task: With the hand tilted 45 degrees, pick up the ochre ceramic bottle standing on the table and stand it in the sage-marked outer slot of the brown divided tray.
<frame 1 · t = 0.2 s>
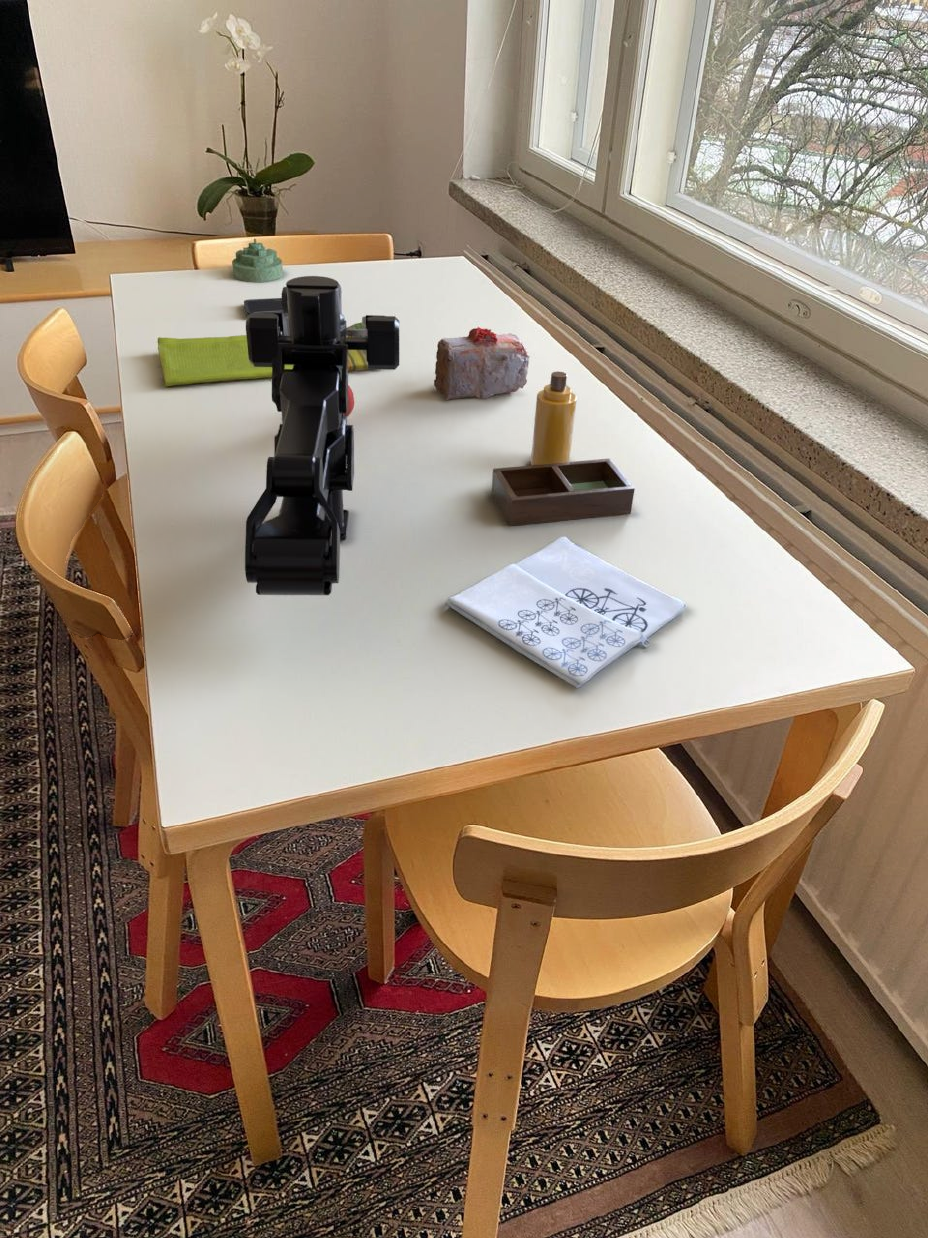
hand: (329, 319, 122), 17 cm above the table, tool horizontal, fingers open, 9 cm apart
decorative artifact: (258, 275, 191), on the table
dish towel: (274, 362, 153), on the table
brown divided tray: (560, 503, 119), on the table
bottle: (549, 464, 127), on the table
folded bicycle print cloth: (570, 612, 100), on the table
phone: (286, 311, 174), on the table
red crystal topped stone: (479, 392, 147), on the table
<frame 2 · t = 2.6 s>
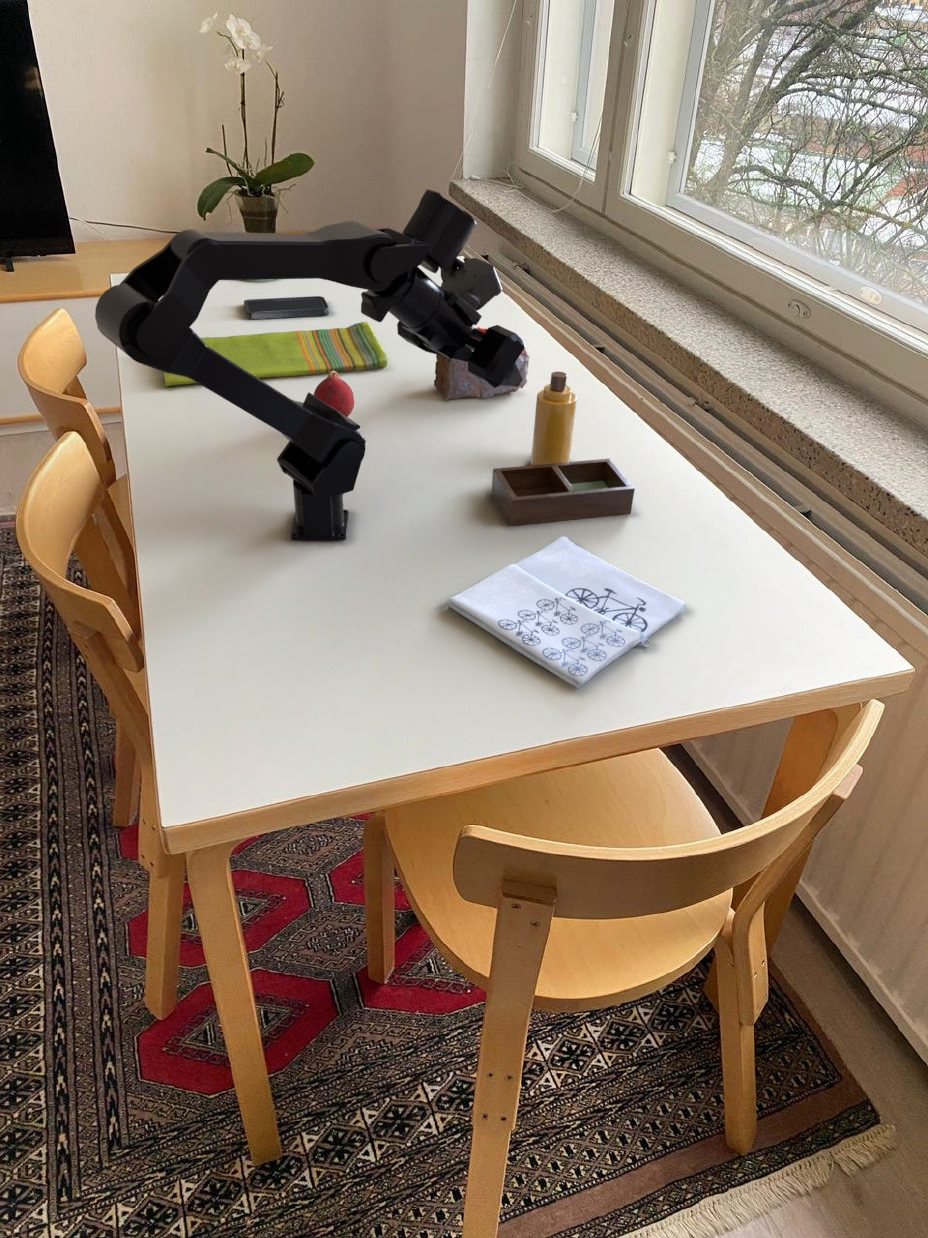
hand: (496, 370, 117), 14 cm above the table, tool tilted 50°, fingers open, 9 cm apart
nothing on the table moved.
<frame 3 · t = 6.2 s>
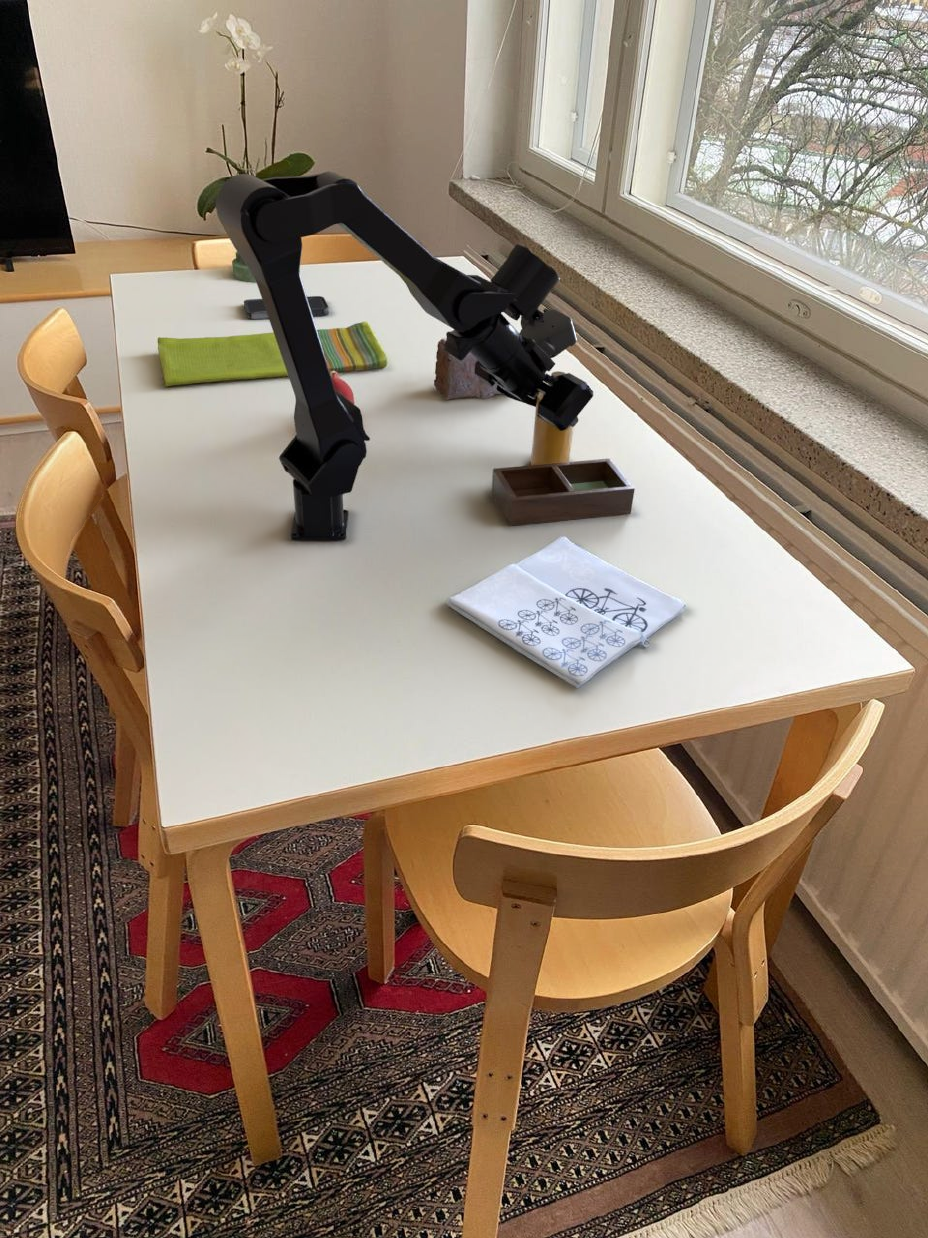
hand: (562, 415, 124), 7 cm above the table, tool tilted 45°, fingers closed on bottle, 5 cm apart
bottle: (549, 464, 127), on the table, touching gripper
everything else where it was.
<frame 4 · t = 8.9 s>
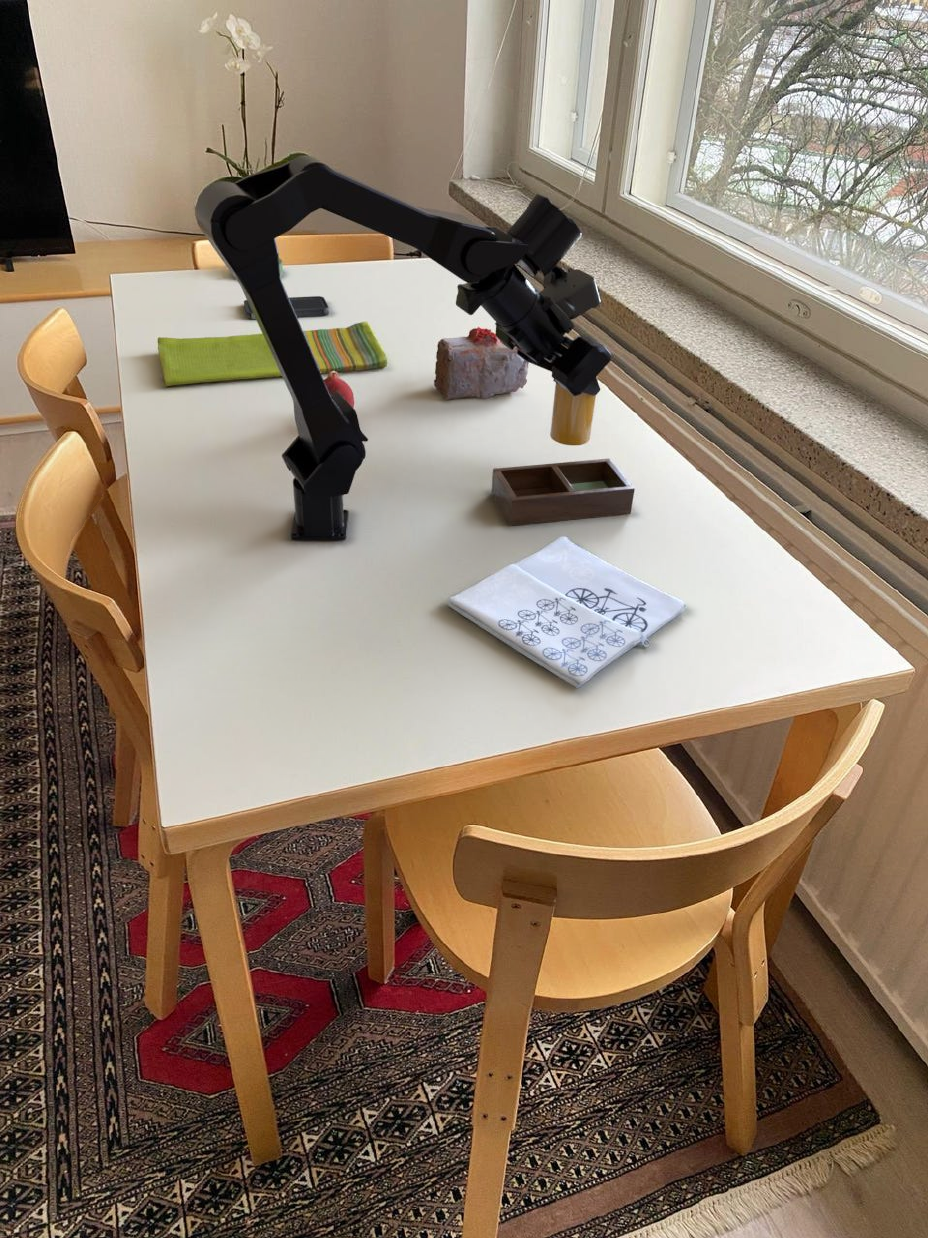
hand: (585, 384, 118), 13 cm above the table, tool tilted 45°, fingers closed on bottle, 5 cm apart
bottle: (570, 436, 121), point 6 cm above the table, touching gripper
everything else where it was.
when the fingers open (8 cm above the table, at t = 11.9 s): bottle stays where it is, resting on brown divided tray.
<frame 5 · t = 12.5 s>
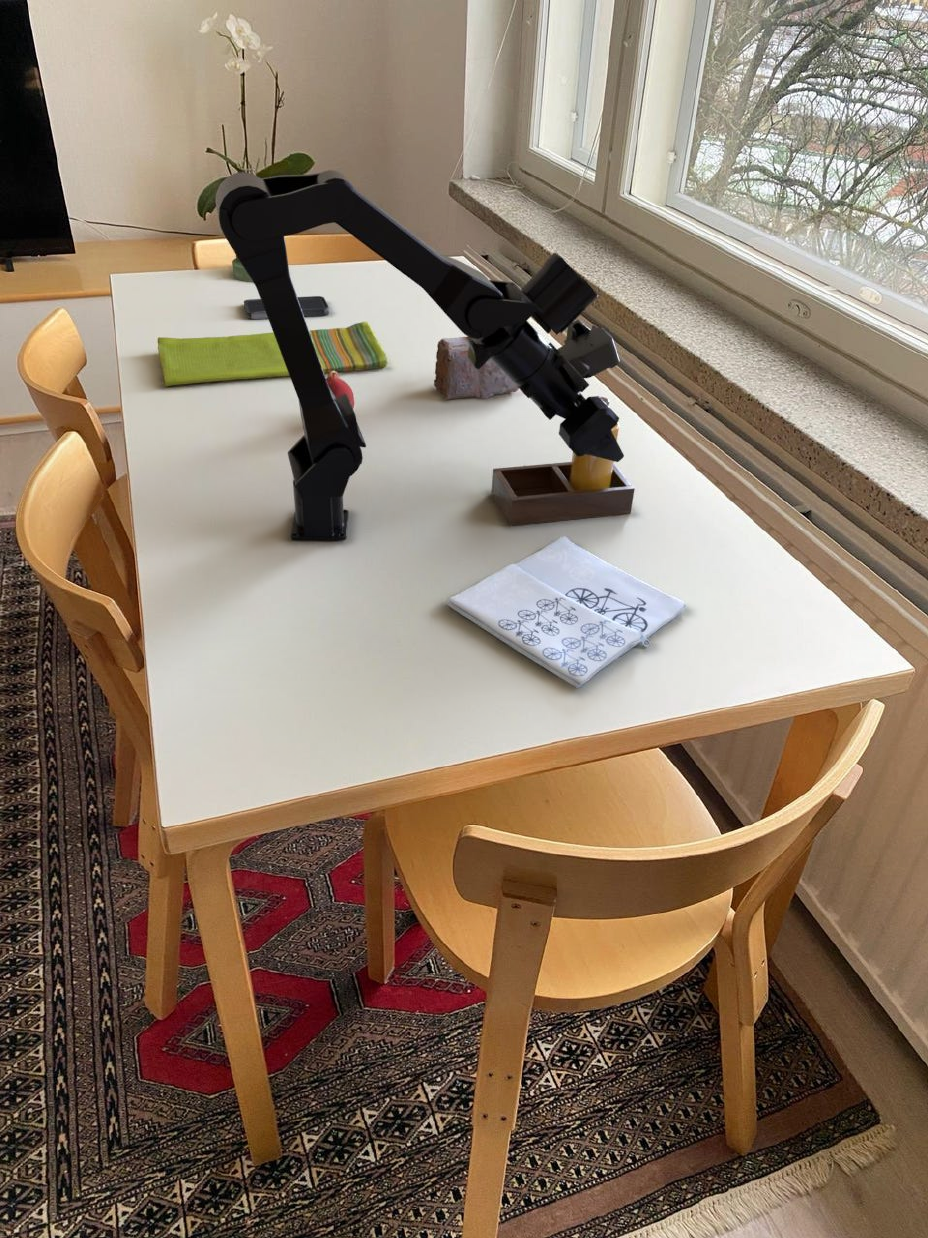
hand: (606, 442, 115), 8 cm above the table, tool tilted 45°, fingers open, 9 cm apart
bottle: (588, 495, 119), point 1 cm above the table, touching brown divided tray
everything else where it was.
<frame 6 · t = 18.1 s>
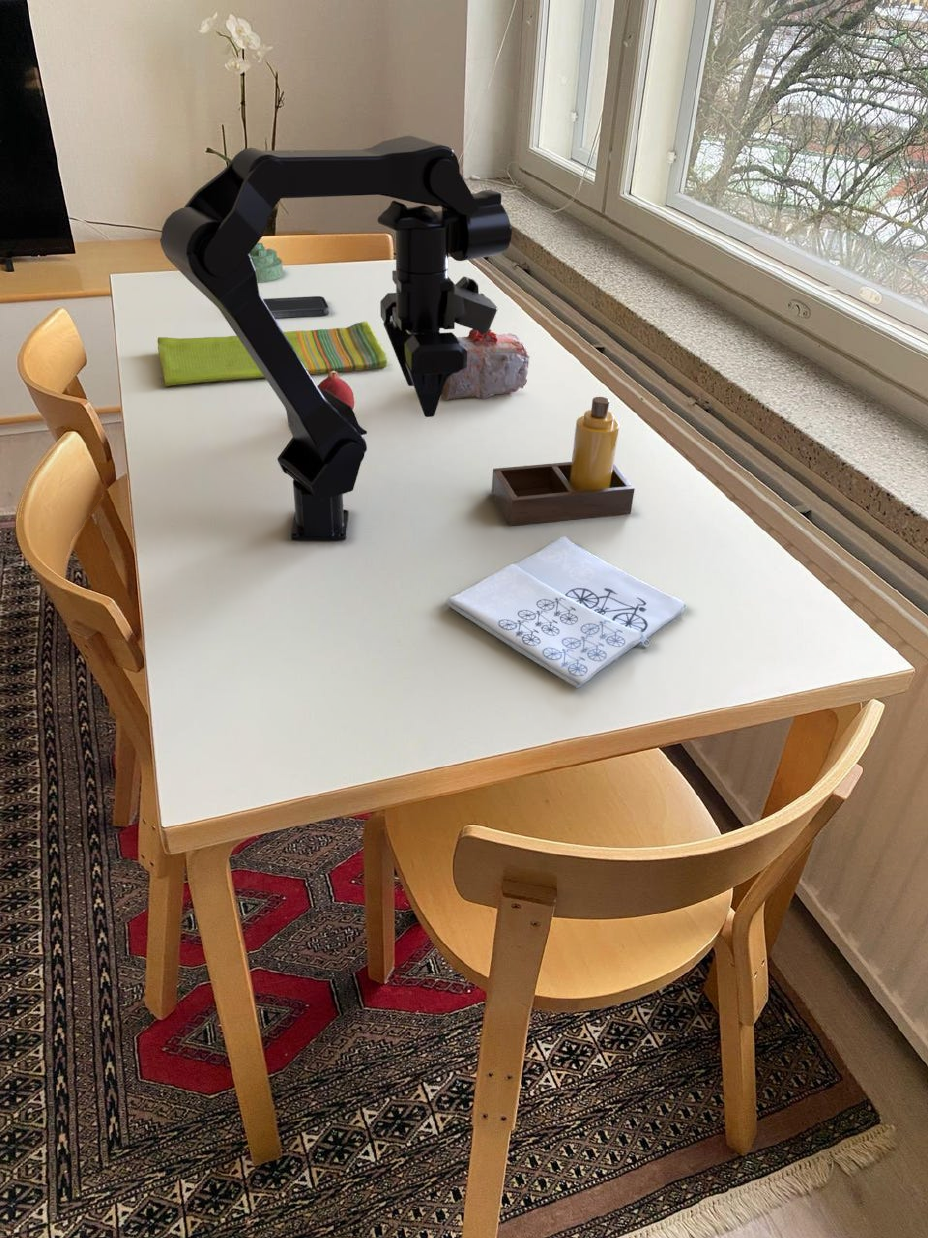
hand: (420, 400, 111), 13 cm above the table, tool pointing down, fingers open, 9 cm apart
nothing on the table moved.
at the end: bottle 0.1 cm from the target spot in the brown divided tray, point 0.8 cm above the brown divided tray's base; bottle tilted 0°; the gripper is holding nothing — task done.
